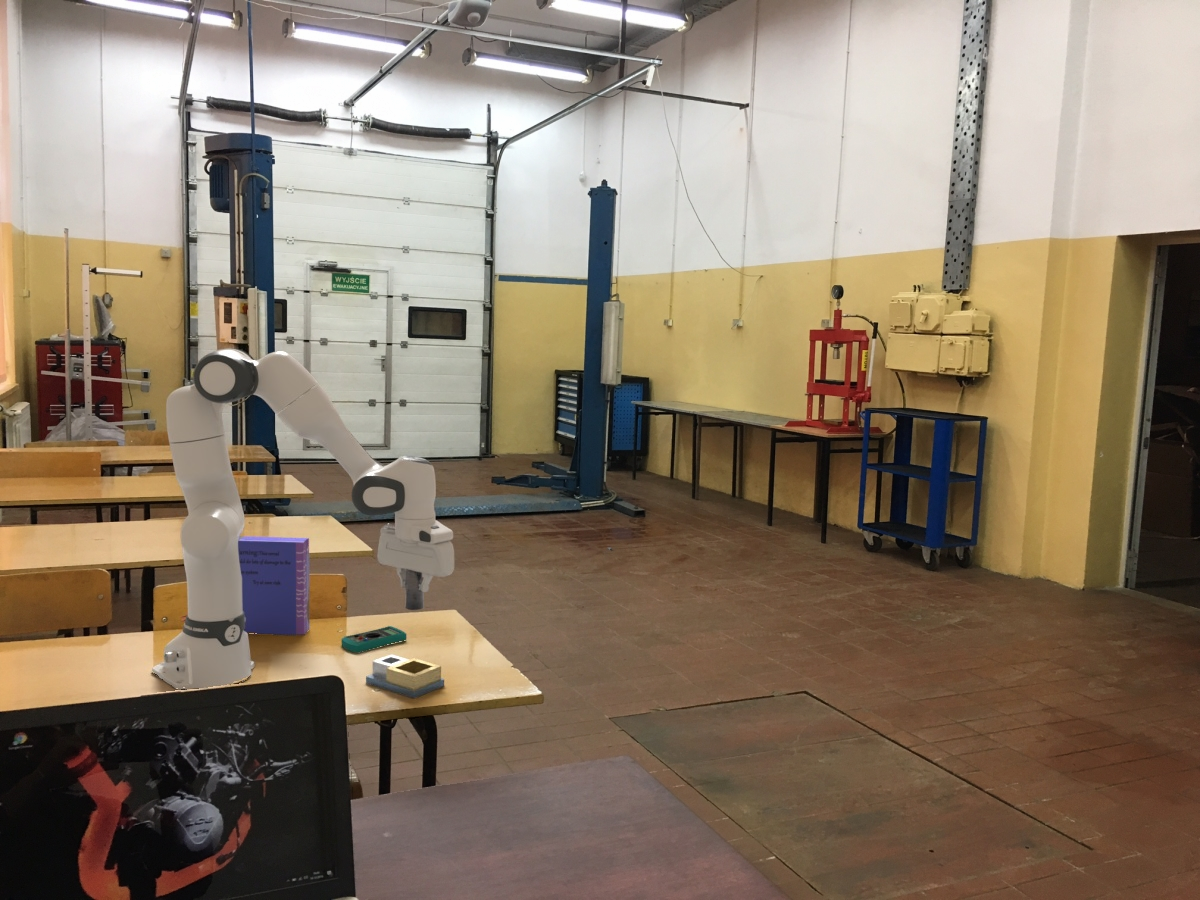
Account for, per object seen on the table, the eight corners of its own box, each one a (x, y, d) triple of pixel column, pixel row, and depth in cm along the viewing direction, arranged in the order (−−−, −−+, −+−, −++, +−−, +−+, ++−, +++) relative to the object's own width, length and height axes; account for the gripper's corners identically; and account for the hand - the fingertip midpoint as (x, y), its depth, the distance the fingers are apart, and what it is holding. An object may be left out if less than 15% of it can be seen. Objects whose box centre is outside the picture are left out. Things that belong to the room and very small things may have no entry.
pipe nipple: (401, 607, 214) (401, 568, 213) (414, 603, 218) (414, 565, 217) (414, 611, 212) (415, 571, 211) (427, 606, 216) (427, 568, 214)
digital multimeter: (338, 648, 232) (338, 636, 232) (391, 635, 243) (391, 624, 242) (354, 655, 227) (354, 643, 227) (407, 642, 237) (407, 631, 237)
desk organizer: (366, 683, 208) (366, 663, 208) (396, 671, 216) (396, 652, 216) (414, 698, 201) (414, 677, 200) (444, 685, 208) (444, 665, 208)
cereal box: (309, 629, 244) (308, 537, 241) (304, 635, 239) (303, 541, 236) (240, 628, 243) (239, 535, 240) (233, 633, 239) (232, 539, 236)
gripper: (371, 524, 215) (370, 584, 217) (439, 537, 205) (439, 600, 206) (391, 520, 221) (390, 578, 222) (459, 532, 210) (458, 594, 212)
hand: (414, 589), depth 214 cm, fingers closed on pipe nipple, 4 cm apart
